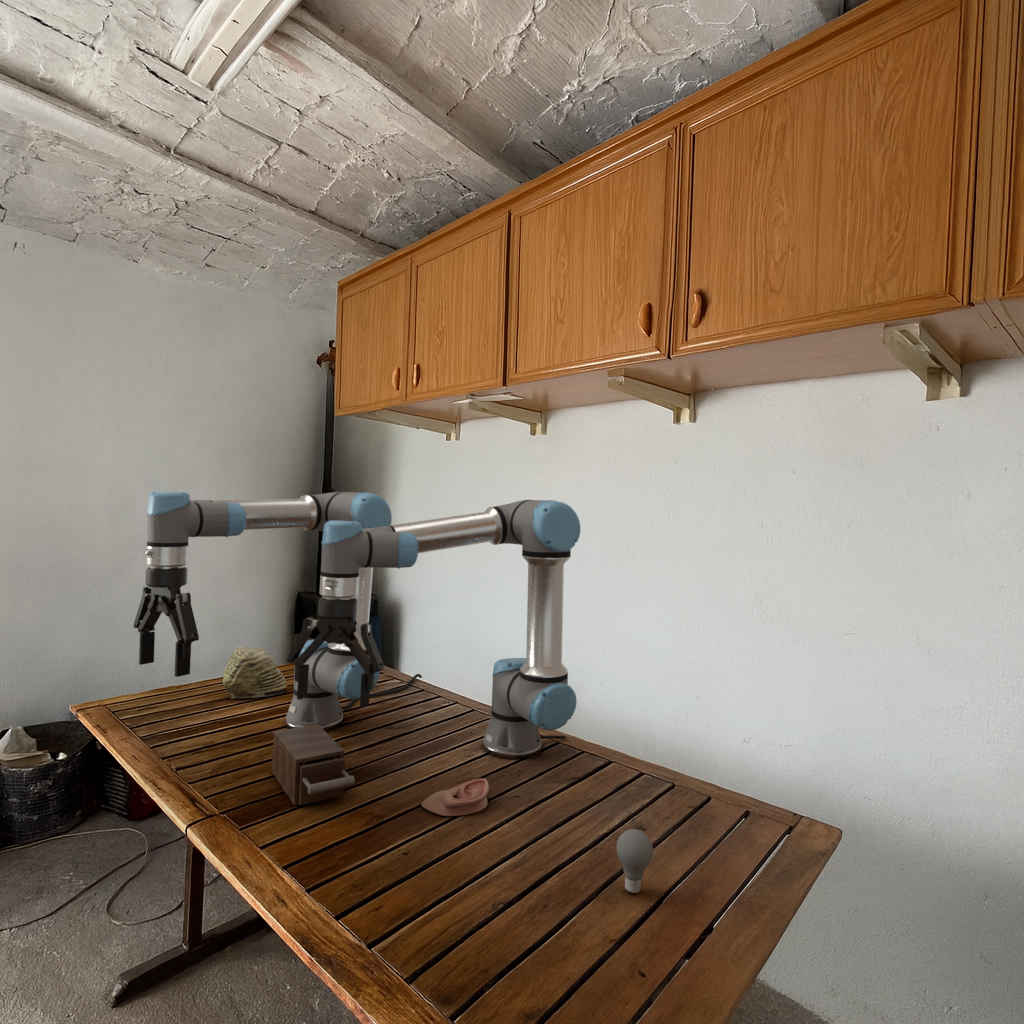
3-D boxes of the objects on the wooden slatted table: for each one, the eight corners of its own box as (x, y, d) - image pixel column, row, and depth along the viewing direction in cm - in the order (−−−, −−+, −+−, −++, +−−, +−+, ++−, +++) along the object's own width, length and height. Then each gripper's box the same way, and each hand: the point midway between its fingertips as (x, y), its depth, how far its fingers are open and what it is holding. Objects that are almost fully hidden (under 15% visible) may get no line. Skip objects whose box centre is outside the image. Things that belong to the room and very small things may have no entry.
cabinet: (342, 794, 135) (344, 750, 135) (294, 805, 129) (295, 759, 129) (316, 763, 150) (318, 724, 150) (272, 772, 144) (273, 731, 144)
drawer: (353, 807, 128) (355, 769, 128) (309, 818, 123) (310, 779, 123) (319, 765, 147) (320, 733, 147) (278, 773, 142) (280, 740, 141)
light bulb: (610, 879, 108) (613, 822, 108) (644, 879, 109) (647, 822, 109) (619, 902, 102) (622, 840, 102) (655, 901, 103) (658, 840, 103)
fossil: (218, 695, 195) (220, 647, 195) (278, 685, 208) (279, 640, 207) (228, 703, 189) (230, 653, 188) (289, 692, 201) (290, 645, 201)
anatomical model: (416, 792, 129) (434, 769, 140) (415, 812, 129) (434, 787, 140) (479, 801, 126) (493, 777, 137) (479, 821, 126) (492, 795, 137)
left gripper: (117, 562, 134) (114, 662, 134) (183, 573, 120) (179, 684, 121) (153, 560, 140) (150, 655, 141) (219, 571, 127) (216, 676, 127)
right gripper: (272, 594, 127) (266, 699, 127) (389, 604, 122) (383, 714, 122) (292, 589, 134) (286, 689, 134) (403, 599, 129) (398, 702, 130)
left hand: (163, 669), depth 131 cm, fingers open, 13 cm apart
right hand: (332, 701), depth 128 cm, fingers open, 13 cm apart
